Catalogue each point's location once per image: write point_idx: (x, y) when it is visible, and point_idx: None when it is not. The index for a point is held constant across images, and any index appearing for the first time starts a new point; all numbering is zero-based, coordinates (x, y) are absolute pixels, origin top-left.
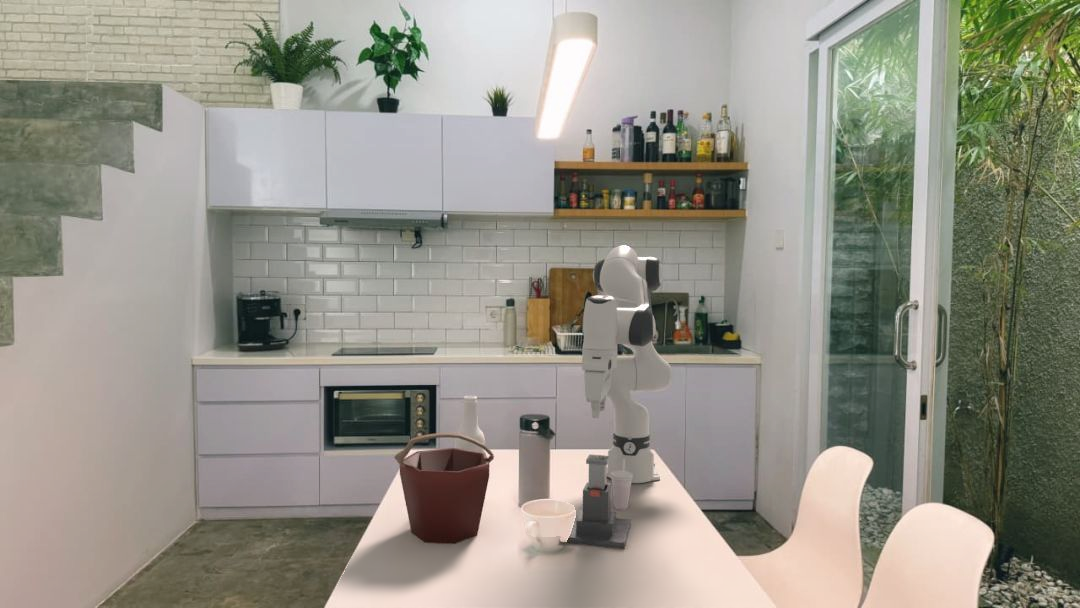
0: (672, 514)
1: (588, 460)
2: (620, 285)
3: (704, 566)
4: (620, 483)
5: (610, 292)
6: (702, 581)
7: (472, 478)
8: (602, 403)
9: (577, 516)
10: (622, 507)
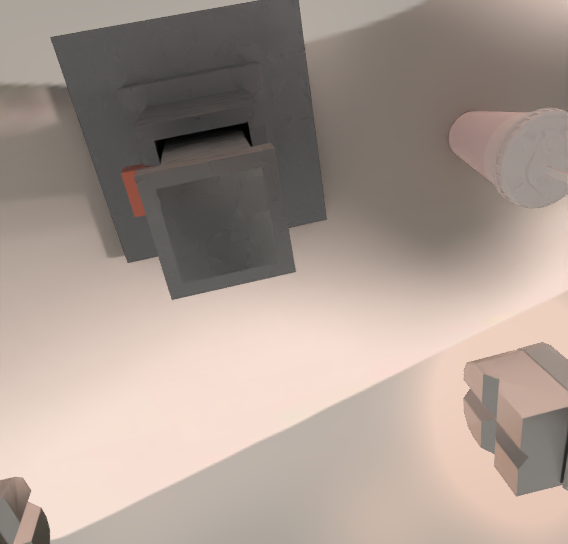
0: (448, 291)
1: (139, 190)
2: None
3: (136, 438)
4: (489, 163)
5: None
6: (52, 455)
7: None
8: (564, 460)
9: (280, 29)
10: (452, 147)
